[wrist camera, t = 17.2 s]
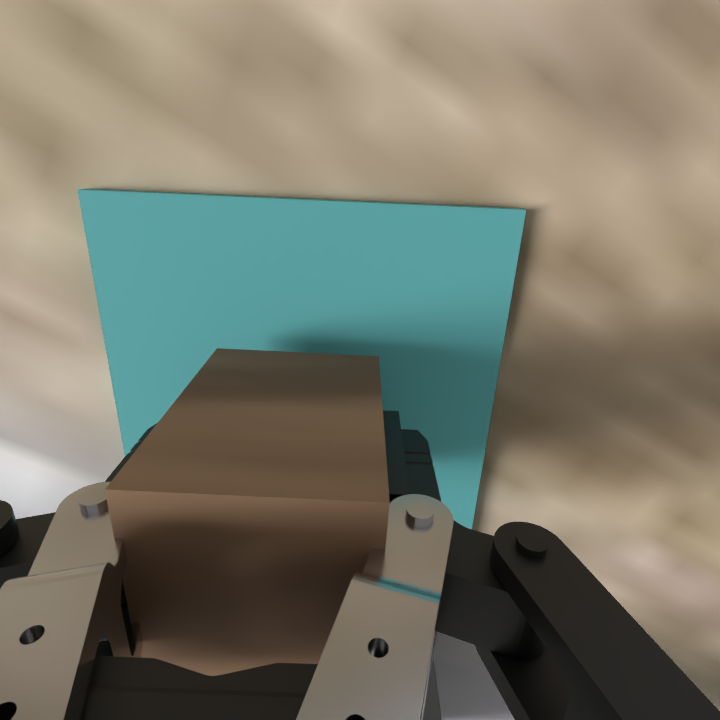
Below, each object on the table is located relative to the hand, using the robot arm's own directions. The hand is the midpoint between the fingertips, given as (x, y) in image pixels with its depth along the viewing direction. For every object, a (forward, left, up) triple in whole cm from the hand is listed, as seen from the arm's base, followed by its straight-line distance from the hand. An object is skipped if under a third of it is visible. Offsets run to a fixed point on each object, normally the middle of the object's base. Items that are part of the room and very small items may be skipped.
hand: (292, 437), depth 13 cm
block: (0, 0, -1) cm, 1 cm away
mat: (0, 0, -3) cm, 3 cm away
